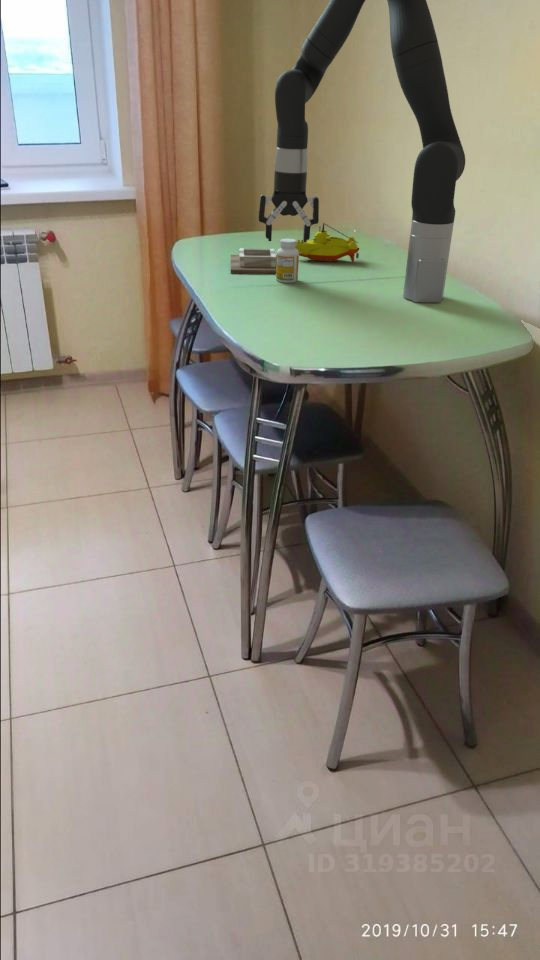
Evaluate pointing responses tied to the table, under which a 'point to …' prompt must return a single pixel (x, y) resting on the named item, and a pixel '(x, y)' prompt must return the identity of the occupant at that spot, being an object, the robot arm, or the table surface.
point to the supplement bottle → (287, 261)
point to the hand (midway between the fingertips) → (287, 241)
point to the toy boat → (327, 247)
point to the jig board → (254, 261)
